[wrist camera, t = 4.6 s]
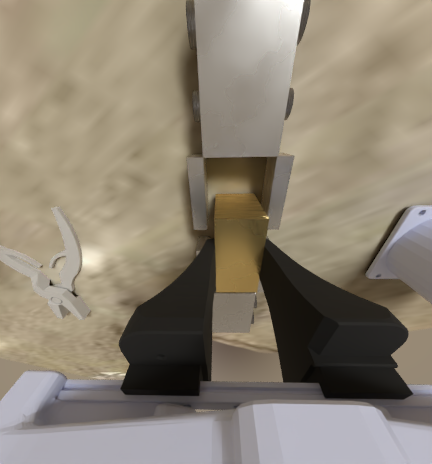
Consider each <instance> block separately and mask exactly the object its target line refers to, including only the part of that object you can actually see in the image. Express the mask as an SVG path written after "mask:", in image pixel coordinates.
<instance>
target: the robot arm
mask: <svg viewBox="0 0 432 464" xmlns="http://www.w3.org/2000/svg"><path fill="white" fill-rule="evenodd" d="M365 275H366V276H367V277H368V278H369V279H401V280H402V281H403V282H404V283H406V284H407V285H408V286H409V287H411V288H412V289H413V290H415V291H416V292H417V293H418V294H420V295H421V296H422V297H423V298H425V299H426V300H427V301H429V302H430V303H431V304H432V205H418V206H411V207H409V208H408V209H406V211H405V212H404V214H403V215H402V217H401V218H400V220H399V221H398V223H397V225H396V226H395V228H394V229H393V231H392V233H391V234H390V236H389V237H388V239H387V240H386V242H385V244H384V245H383V247H382V248H381V250H380V252H379V253H378V255H377V256H376V258H375V259H374V261H373V263H372V264H371V266H370V267H369V269H368V271H367V272H366V274H365ZM259 279H260V282H261V285H262V288H263V291H264V294H265V297H266V300H267V303H268V306H269V310H270V315H271V319H272V323H273V328H274V333H275V338H276V343H277V348H278V354H279V359H280V365H281V369H282V377H283V383H282V382H280V383H279V382H214V381H211V362H212V318H213V300H214V291H215V283H216V254H215V239H207V240H206V242H205V244H204V246H203V247H202V249H201V251H200V252H199V254H198V255H197V257H196V258H195V259H194V261H193V262H192V263H191V264H190V266H189V267H188V268H187V269H186V270H185V271H184V272H183V273H182V274H181V275H180V276H179V277H178V278H177V279H176V280H175V281H174V282H173V283H171V284H170V285H169V286H168V287H167V288H165V289H164V290H163V291H161V292H160V293H159V294H157V295H156V296H154V297H153V298H151V299H150V300H148V301H147V302H145V303H143V304H142V305H140V306H139V307H137V309H136V310H135V312H134V314H133V315H132V317H131V318H130V320H129V322H128V324H127V326H126V328H125V330H124V332H123V334H122V336H121V338H120V340H119V347H120V349H121V352H122V353H123V355H124V356H125V358H126V359H127V361H128V362H129V364H130V365H129V368H128V370H127V373H126V375H125V379H124V380H81V379H67V378H66V376H65V375H64V374H62V373H60V372H57V371H51V370H28V371H25V372H24V373H23V374H22V376H21V377H20V378H19V379H18V380H17V382H16V383H15V384H14V385H13V386H12V388H11V389H10V390H9V391H8V392H7V394H6V395H5V396H4V397H3V399H2V400H1V401H0V464H432V385H414V384H406V383H405V382H404V381H403V379H402V378H401V377H400V375H399V374H398V373H397V372H396V370H395V369H394V368H397V367H398V365H397V363H396V362H395V361H394V359H393V358H392V357H391V354H392V353H393V352H395V351H396V350H397V349H398V348H399V347H400V346H402V345H403V344H404V342H405V341H406V340H407V338H408V330H407V328H406V327H405V326H404V325H403V324H402V323H401V322H400V321H399V320H398V319H397V318H396V317H395V316H394V315H393V314H392V313H391V312H390V311H389V310H388V309H387V308H385V307H383V306H380V305H378V304H375V303H373V302H370V301H368V300H365V299H363V298H360V297H358V296H356V295H354V294H351V293H349V292H347V291H345V290H343V289H341V288H339V287H337V286H335V285H333V284H331V283H329V282H327V281H325V280H323V279H321V278H320V277H318V276H316V275H315V274H313V273H311V272H310V271H308V270H307V269H305V268H304V267H302V266H301V265H299V264H298V263H297V262H295V261H294V260H292V259H291V258H290V257H289V256H287V255H286V254H285V253H284V252H282V251H281V250H280V249H279V248H278V247H277V246H276V245H274V244H273V243H272V242H271V241H270V240H269V239H267V238H266V242H265V246H264V252H263V258H262V264H261V270H260V276H259ZM195 409H211V410H219V411H207V412H196V411H195Z"/></svg>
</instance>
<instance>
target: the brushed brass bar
mask: <svg viewBox="0 0 432 464" xmlns="http://www.w3.org/2000/svg"><path fill="white" fill-rule="evenodd" d="M268 224H269V217H268V216H267V214H266V213H265V211H264V209H263V208H262V206H261V204H260V203H259V201H258V200H257V198H256V196H255V195H254V194H216V197H215V214H214V231H215V254H216V292H257V290H258V284H259V276H260V270H261V264H262V258H263V252H264V246H265V242H266V236H267V230H268Z"/></svg>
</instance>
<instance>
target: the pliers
mask: <svg viewBox="0 0 432 464" xmlns="http://www.w3.org/2000/svg"><path fill="white" fill-rule="evenodd" d="M51 209H52V211H53V214H54V216H55V218H56V221H57V223H58V226H59V228H60V231H61V234H62V237H63V241H64V245H65V250H63V251H61V252H59V253H57V254H56V255H55V256H54V257H52V258H51V261H50V264H49V268H53V267H54V266H55V262H56V260H57V258H58V257H62V256H66V262H65V264H64V266H63V268H62V270H61V271H60V273H59V276H60V279H61V283H60V284H55V285H51V286H49V283H50V279H49V278H48V277H47V276H46V275H45V274H44V273H43V272H42V271H40V270H38V269H37V268H39V267H40V266H42V264H40V263H39V262H37V261H36V260H34V259H33V258H31V257H29V256H27V255H25V254H23V253H21V252H18V251H15V250H12V249H9V248H6V247H4V246H1V245H0V260H1V261H2V262H3V263H5V264H6V265H8V266H9V267H11V268H13V269H14V270H16V271H18V272H20V273H22V274H24V275H26V276H28V277H30V278H31V280H32V285H33V289H34V291H35V292H36V293H37V294H39V295H40V296H41V297H44V298H46V299H49V301H48V303H47V304H48V305H49V307H50V308H51V309H52V311H53V312H54V313H55V315H56V316H57V318H61V319H63V318H64V317H65V316H66V315H67V313H68V312H69V311H70V312H71V313H73V314H74V315H75V316H76V317H77V318H78V319H79V320H84V319H85V318H86V316H87V315H88V314H89V312H90V311H91V310H90V309H89V307H88V306H87V304H86V303H85V302H84V300H83V299H82V297H81V296H80V295H79V296H74V295H73V294H72V291H73V290H74V289H75V286H74V279H75V276H76V275H77V274H78V273H79V271H80V269H81V266H82V251H81V246H80V243H79V240H78V237H77V234H76V232H75V230H74V228H73V226H72V224H71V223H70V221H69V219H68V218H67V216H66V215H65V213H64V212H63V210H62V209H61V207H53V208H51ZM15 256H16V257H15ZM17 257H18V258H21V259H23V260H25V261H27V262H29V263H31V264H32V265H34V266H35V267H37V268H35V267H33V266H31V265H29V264H27V263H25V262H24V261H22V260H20V259H18V258H17Z"/></svg>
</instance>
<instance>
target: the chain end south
mask: <svg viewBox="0 0 432 464" xmlns="http://www.w3.org/2000/svg"><path fill="white" fill-rule="evenodd" d="M309 10H310V0H186V17H187V28H188V37H189V43H190V48H191V49H197V60H198V79H199V91H193V112H194V118H195V122H201V133H202V151H203V154H192V155H190V156H189V157H187V167H188V177H189V187H190V196H191V206H192V216H193V226H194V230H207V227H208V219H209V212H208V190H207V169H206V158H222V157H267V162H266V169H265V177H264V184H263V192H262V200H261V206H262V208H263V209H264V211H265V213H266V214H267V216H268V217H269V224H268V229H279V227H280V222H281V217H282V212H283V208H284V203H285V198H286V193H287V188H288V184H289V179H290V174H291V169H292V165H293V160H294V156H293V155H289V154H285V153H279V149H280V143H281V137H282V131H283V125H284V120H287V118H288V117H289V115H290V112H291V109H292V105H293V99H294V90H293V88H290V82H291V76H292V70H293V64H294V58H295V52H296V46H297V45H298V44H299V42H300V41H301V38H302V36H303V33H304V30H305V27H306V24H307V20H308V15H309Z"/></svg>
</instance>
